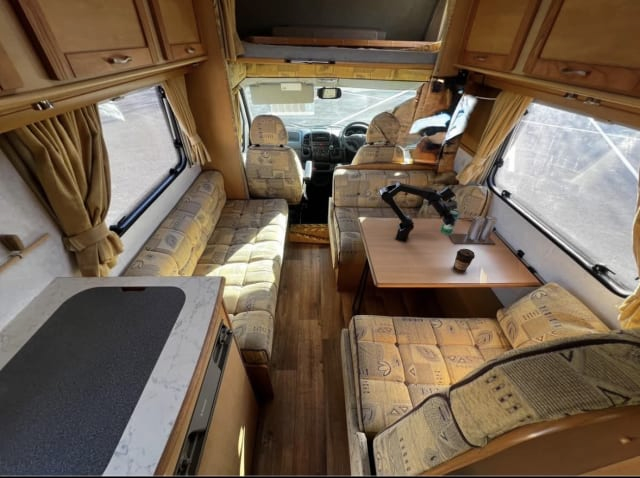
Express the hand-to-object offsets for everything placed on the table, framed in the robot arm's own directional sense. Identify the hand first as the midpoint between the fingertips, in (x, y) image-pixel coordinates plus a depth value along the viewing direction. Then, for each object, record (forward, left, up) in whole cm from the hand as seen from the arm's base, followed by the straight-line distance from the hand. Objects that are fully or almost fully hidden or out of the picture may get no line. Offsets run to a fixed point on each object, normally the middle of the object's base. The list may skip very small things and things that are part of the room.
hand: (451, 222), depth 158 cm
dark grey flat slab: (+14, +9, -13) cm, 21 cm away
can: (-1, -1, -8) cm, 8 cm away
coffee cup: (+11, -27, -13) cm, 32 cm away
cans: (+17, +11, -12) cm, 23 cm away
